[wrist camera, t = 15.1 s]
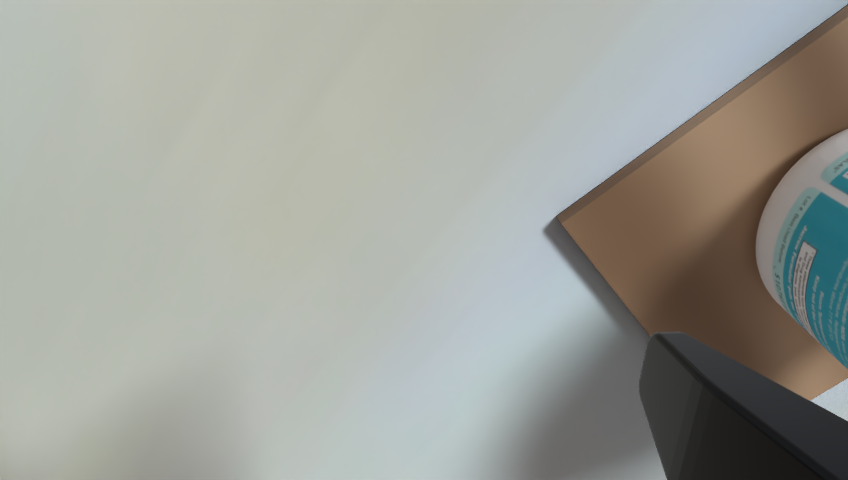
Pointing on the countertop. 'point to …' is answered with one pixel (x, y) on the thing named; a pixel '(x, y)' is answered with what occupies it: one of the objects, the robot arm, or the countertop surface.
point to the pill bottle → (810, 244)
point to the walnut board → (722, 213)
